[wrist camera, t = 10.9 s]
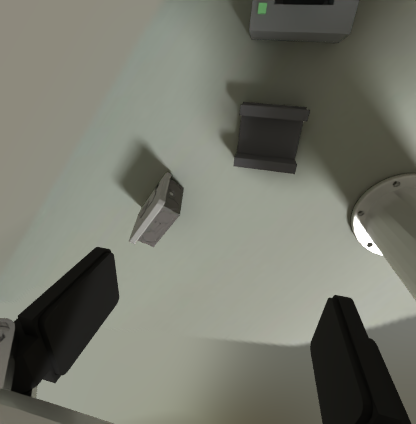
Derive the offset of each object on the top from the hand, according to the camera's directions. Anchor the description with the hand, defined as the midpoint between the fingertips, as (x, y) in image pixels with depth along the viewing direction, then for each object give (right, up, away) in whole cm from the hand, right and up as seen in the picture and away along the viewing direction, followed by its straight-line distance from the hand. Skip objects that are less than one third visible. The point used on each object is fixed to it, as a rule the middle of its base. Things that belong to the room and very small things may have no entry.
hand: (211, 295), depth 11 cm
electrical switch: (-7, +6, +31) cm, 33 cm away
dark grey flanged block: (+8, +14, +23) cm, 29 cm away
